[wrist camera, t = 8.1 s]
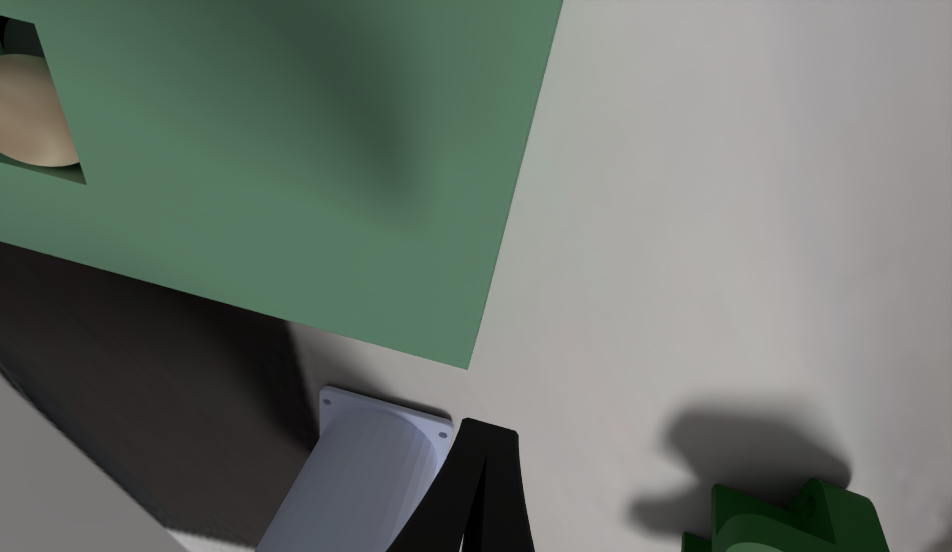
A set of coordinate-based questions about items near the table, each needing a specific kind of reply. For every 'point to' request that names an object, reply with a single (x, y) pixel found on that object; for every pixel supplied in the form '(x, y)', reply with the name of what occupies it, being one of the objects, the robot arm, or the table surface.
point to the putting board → (288, 153)
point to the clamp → (792, 523)
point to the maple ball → (32, 114)
